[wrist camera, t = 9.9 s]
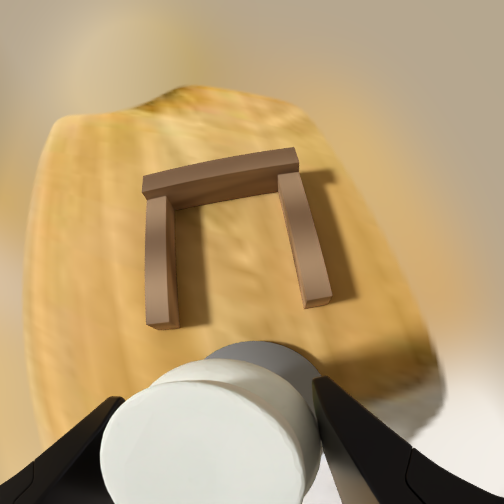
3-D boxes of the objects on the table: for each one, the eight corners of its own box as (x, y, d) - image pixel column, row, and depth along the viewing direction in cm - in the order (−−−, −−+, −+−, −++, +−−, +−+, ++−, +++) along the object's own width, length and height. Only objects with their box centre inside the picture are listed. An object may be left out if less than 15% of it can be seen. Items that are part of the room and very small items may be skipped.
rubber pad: (339, 465, 14) (341, 467, 13) (193, 482, 14) (191, 485, 13) (316, 330, 17) (317, 328, 17) (174, 351, 18) (171, 350, 17)
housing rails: (327, 304, 18) (335, 290, 15) (158, 330, 18) (139, 321, 16) (293, 173, 22) (294, 147, 20) (157, 198, 23) (143, 176, 20)
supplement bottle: (172, 423, 13) (37, 450, 4) (238, 347, 14) (172, 284, 6) (255, 488, 11) (218, 606, 2) (325, 411, 12) (402, 450, 4)
